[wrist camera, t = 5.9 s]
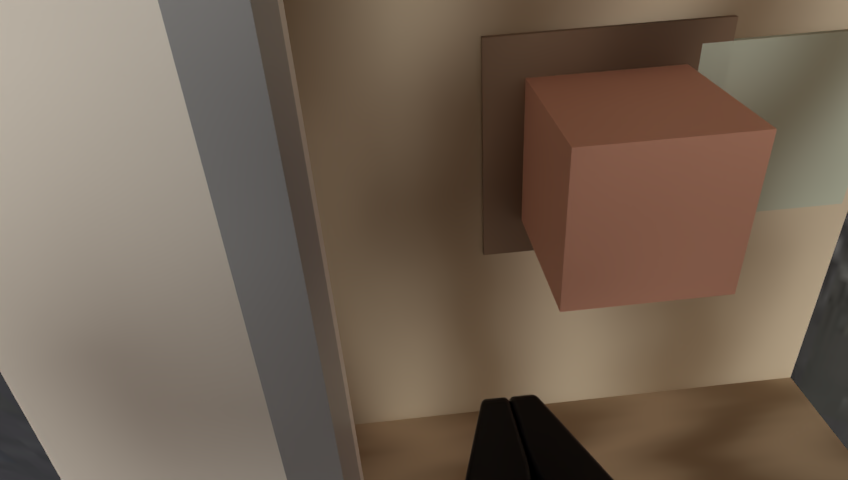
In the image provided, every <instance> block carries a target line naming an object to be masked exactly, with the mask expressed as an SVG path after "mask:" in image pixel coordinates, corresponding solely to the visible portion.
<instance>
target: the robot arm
mask: <svg viewBox="0 0 848 480" xmlns="http://www.w3.org/2000/svg"><path fill="white" fill-rule="evenodd" d="M465 480H614V479H613V478H612V477H611V476H610V475H609V474H608V473H607V472H606V471H605V469H604V468H603V467H602V466H601V465H600V464H599V463H598V462H597V461H596V460H595V459H594V457H593V456H592V455H591V454H590V453H589V452H588V451H587V450H586V449H585V448H584V447H583V445H582V444H581V443H580V442H579V441H578V440H577V439H576V438H575V437H574V436H573V434H572V433H571V432H570V431H569V430H568V429H567V428H566V427H565V426H564V425H563V424H562V422H561V421H560V420H559V419H558V418H557V417H556V416H555V415H554V414H553V413H552V412H551V410H550V409H549V408H548V407H547V406H546V405H545V404H544V403H543V402H542V401H541V400H540V398H539V397H537V396H536V395H521V396H513V397H511V398H510V399H509V400H508V399H507V398H505V397H501V398H491V399H484V400H483V401H482V402H481V406H480V410H479V415H478V420H477V425H476V430H475V434H474V439H473V444H472V449H471V454H470V458H469V463H468V468H467V473H466V478H465Z"/></svg>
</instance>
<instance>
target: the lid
mask: <svg viewBox="0 0 848 480" xmlns="http://www.w3.org/2000/svg"><path fill="white" fill-rule="evenodd" d="M0 372H1V374H2V376H3V377H4V379H5V381H6V383H7V384H8V386H9V388H10V390H11V392H12V393H13V395H14V397H15V399H16V400H17V402H18V404H19V406H20V407H21V409H22V411H23V413H24V415H25V416H26V418H27V420H28V422H29V423H30V425H31V427H32V429H33V430H34V432H35V434H36V436H37V438H38V439H39V441H40V443H41V445H42V446H43V448H44V450H45V452H46V453H47V455H48V457H49V459H50V461H51V462H52V464H53V466H54V468H55V469H56V471H57V473H58V475H59V476H60V478H61V480H364V478H363V472H362V466H361V460H360V454H359V448H358V442H357V436H356V430H355V424H354V418H353V412H352V406H351V401H350V395H349V389H348V383H347V377H346V371H345V365H344V359H343V353H342V347H341V341H340V335H339V329H338V323H337V318H336V312H335V306H334V300H333V294H332V288H331V282H330V276H329V270H328V264H327V258H326V252H325V246H324V240H323V235H322V229H321V223H320V217H319V211H318V205H317V199H316V193H315V187H314V181H313V175H312V169H311V163H310V157H309V152H308V146H307V140H306V134H305V128H304V122H303V116H302V110H301V104H300V98H299V92H298V86H297V80H296V74H295V69H294V63H293V57H292V51H291V45H290V39H289V33H288V27H287V21H286V15H285V9H284V3H283V0H0Z"/></svg>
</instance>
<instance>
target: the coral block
mask: <svg viewBox="0 0 848 480" xmlns="http://www.w3.org/2000/svg"><path fill="white" fill-rule="evenodd" d="M776 131H777V129H776V128H775V127H774V126H772V125H771V124H769V123H768V122H767V121H765V120H764V119H763V118H761V117H760V116H758V115H757V114H756V113H754V112H753V111H752V110H750V109H749V108H747V107H746V106H745V105H743V104H742V103H741V102H739V101H738V100H736V99H735V98H734V97H732V96H731V95H730V94H728V93H727V92H725V91H724V90H723V89H721V88H720V87H719V86H717V85H716V84H714V83H713V82H712V81H710V80H709V79H708V78H706V77H705V76H704V75H702V74H701V73H699V72H698V71H697V70H695V69H694V68H693V67H691V66H690V65H688V64H683V65H671V66H660V67H648V68H637V69H625V70H613V71H602V72H590V73H579V74H567V75H556V76H544V77H532V78H525V114H524V149H523V184H522V219H521V220H522V222H523V225H524V227H525V230H526V232H527V234H528V237H529V239H530V242H531V244H532V246H533V249H534V251H535V254H536V256H537V258H538V261H539V263H540V266H541V268H542V270H543V273H544V275H545V277H546V280H547V282H548V285H549V287H550V289H551V292H552V294H553V297H554V299H555V301H556V304H557V306H558V309H559V311H560V312H565V311H575V310H585V309H595V308H604V307H614V306H624V305H634V304H643V303H653V302H663V301H673V300H682V299H692V298H702V297H712V296H722V295H731V294H735V292H736V288H737V284H738V280H739V276H740V272H741V268H742V264H743V260H744V256H745V253H746V249H747V245H748V241H749V237H750V233H751V229H752V225H753V221H754V217H755V213H756V210H757V206H758V202H759V198H760V194H761V190H762V186H763V182H764V178H765V174H766V170H767V167H768V163H769V159H770V155H771V151H772V147H773V143H774V139H775V135H776Z"/></svg>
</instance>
